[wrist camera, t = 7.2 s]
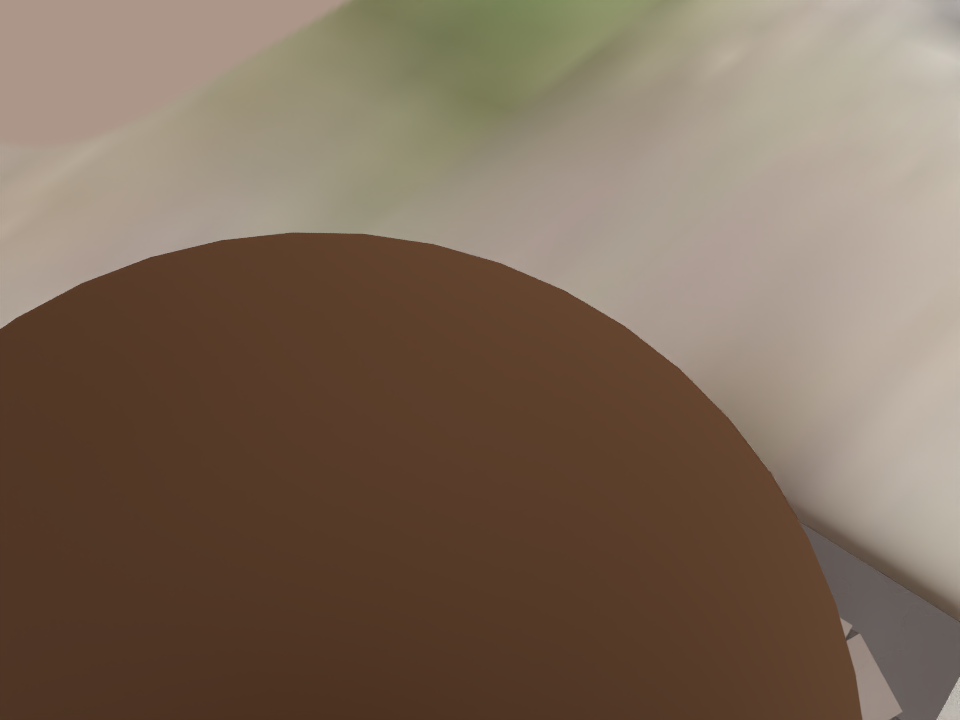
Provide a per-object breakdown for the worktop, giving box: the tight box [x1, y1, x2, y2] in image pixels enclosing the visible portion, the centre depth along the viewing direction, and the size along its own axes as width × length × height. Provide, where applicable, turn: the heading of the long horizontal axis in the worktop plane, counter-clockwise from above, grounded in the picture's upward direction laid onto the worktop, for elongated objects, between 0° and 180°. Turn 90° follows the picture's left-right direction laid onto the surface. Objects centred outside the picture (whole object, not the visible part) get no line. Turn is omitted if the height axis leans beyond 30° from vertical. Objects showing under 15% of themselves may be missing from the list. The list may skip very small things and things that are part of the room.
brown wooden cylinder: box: [0, 233, 862, 720], centre depth 9 cm, size 4×4×13 cm
